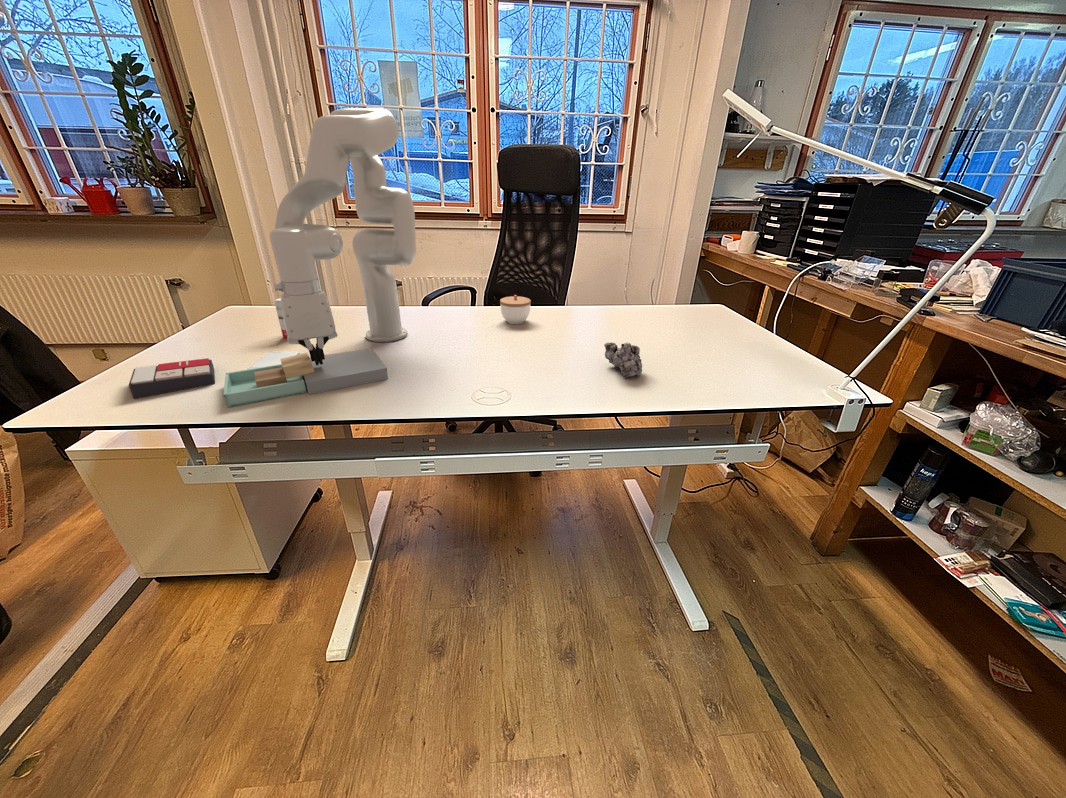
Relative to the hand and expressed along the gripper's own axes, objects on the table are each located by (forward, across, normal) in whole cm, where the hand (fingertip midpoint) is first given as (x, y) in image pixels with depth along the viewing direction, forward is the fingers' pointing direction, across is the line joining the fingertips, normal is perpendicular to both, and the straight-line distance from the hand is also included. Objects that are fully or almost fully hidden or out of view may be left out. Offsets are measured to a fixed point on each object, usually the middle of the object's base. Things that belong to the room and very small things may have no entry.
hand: (318, 362), depth 103 cm
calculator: (+5, -30, +14) cm, 34 cm away
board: (+4, +5, 0) cm, 7 cm away
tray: (+4, -12, 0) cm, 13 cm away
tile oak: (+1, -4, 0) cm, 5 cm away
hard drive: (+5, -10, +16) cm, 20 cm away
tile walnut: (+4, -11, 0) cm, 11 cm away
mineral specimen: (+4, +70, -34) cm, 78 cm away
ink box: (+4, -2, +39) cm, 39 cm away
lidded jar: (+4, +66, +20) cm, 69 cm away
